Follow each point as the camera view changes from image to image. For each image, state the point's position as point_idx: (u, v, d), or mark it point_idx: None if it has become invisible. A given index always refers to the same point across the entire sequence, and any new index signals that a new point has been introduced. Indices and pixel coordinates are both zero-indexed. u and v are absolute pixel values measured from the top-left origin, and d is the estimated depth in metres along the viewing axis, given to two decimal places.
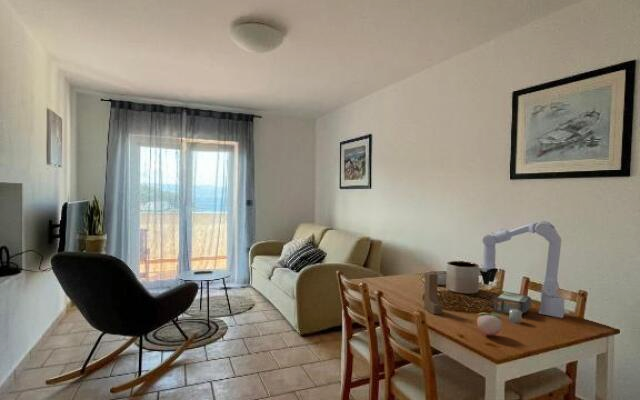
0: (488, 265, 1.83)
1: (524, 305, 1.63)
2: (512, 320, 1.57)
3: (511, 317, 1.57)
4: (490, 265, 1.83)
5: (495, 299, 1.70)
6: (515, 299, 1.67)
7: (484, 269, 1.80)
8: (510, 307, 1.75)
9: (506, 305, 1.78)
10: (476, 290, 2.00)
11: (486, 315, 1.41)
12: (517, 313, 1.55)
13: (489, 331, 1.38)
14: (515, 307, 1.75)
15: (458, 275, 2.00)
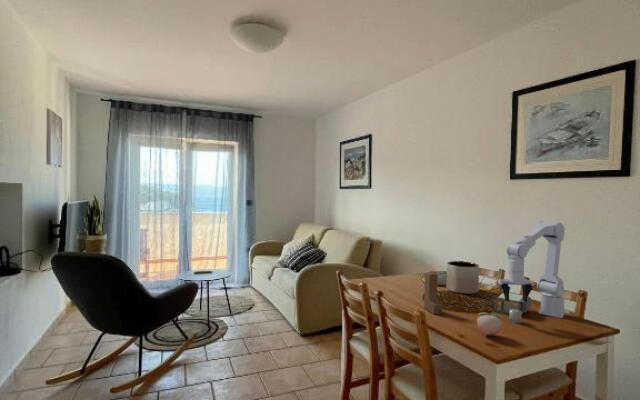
0: (510, 279, 1.57)
1: (524, 305, 1.63)
2: (512, 320, 1.57)
3: (511, 317, 1.57)
4: (512, 279, 1.56)
5: (495, 299, 1.70)
6: (515, 299, 1.67)
7: (499, 281, 1.58)
8: (510, 307, 1.75)
9: (506, 305, 1.78)
10: (476, 290, 2.00)
11: (486, 315, 1.41)
12: (517, 313, 1.55)
13: (489, 331, 1.38)
14: (515, 307, 1.75)
15: (458, 275, 2.00)
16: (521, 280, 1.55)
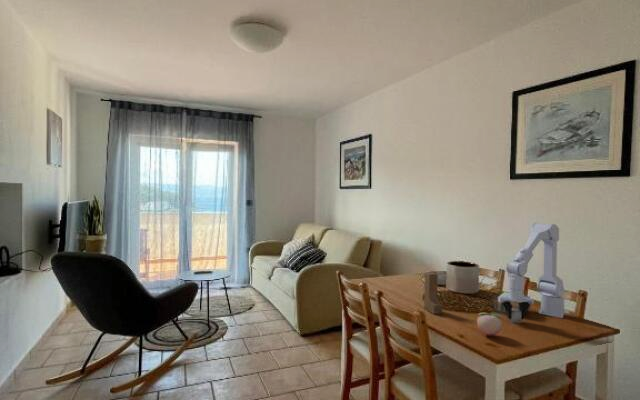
0: (510, 296, 1.57)
1: None
2: (512, 320, 1.57)
3: (511, 317, 1.57)
4: (511, 297, 1.56)
5: (495, 299, 1.70)
6: None
7: (499, 299, 1.58)
8: None
9: None
10: (476, 290, 2.00)
11: (486, 315, 1.41)
12: (517, 313, 1.55)
13: (489, 331, 1.38)
14: (515, 307, 1.75)
15: (458, 275, 2.00)
16: (521, 298, 1.55)
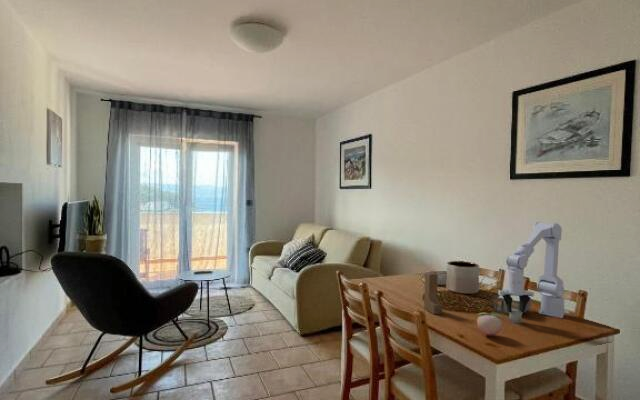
0: (510, 290, 1.57)
1: None
2: (512, 320, 1.57)
3: (511, 317, 1.57)
4: (511, 290, 1.56)
5: (495, 299, 1.70)
6: (515, 299, 1.67)
7: (499, 292, 1.58)
8: None
9: None
10: (476, 290, 2.00)
11: (486, 315, 1.41)
12: (517, 313, 1.55)
13: (489, 331, 1.38)
14: (515, 307, 1.75)
15: (458, 275, 2.00)
16: (521, 291, 1.55)
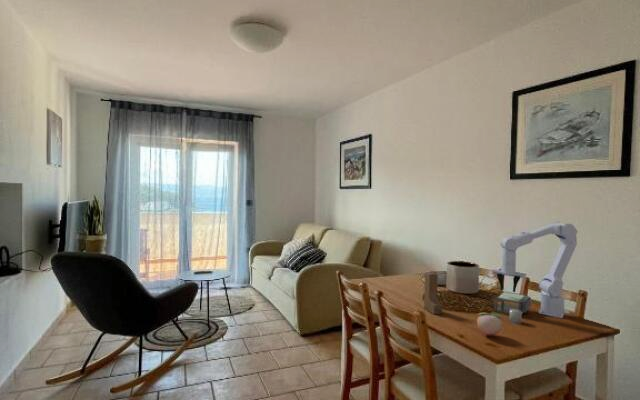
0: (502, 269, 1.72)
1: (524, 305, 1.63)
2: (512, 320, 1.57)
3: (511, 317, 1.57)
4: (502, 270, 1.71)
5: (495, 299, 1.70)
6: (515, 299, 1.67)
7: None
8: (510, 307, 1.75)
9: (506, 305, 1.78)
10: (476, 290, 2.00)
11: (486, 315, 1.41)
12: (517, 313, 1.55)
13: (489, 331, 1.38)
14: (515, 307, 1.75)
15: (458, 275, 2.00)
16: (510, 271, 1.68)
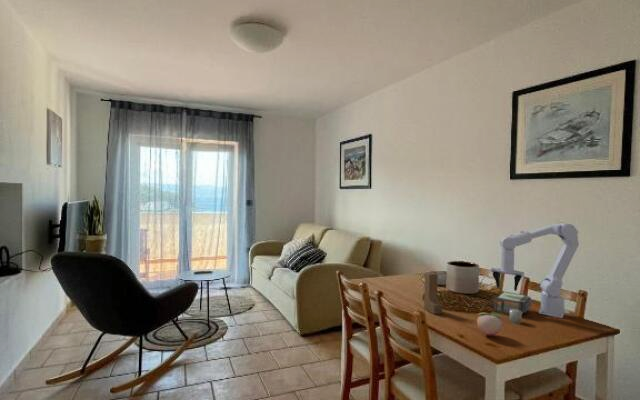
0: (500, 268, 1.75)
1: (524, 305, 1.63)
2: (512, 320, 1.57)
3: (511, 317, 1.57)
4: (501, 268, 1.74)
5: (495, 299, 1.70)
6: (515, 299, 1.67)
7: None
8: (510, 307, 1.75)
9: (506, 305, 1.78)
10: (476, 290, 2.00)
11: (486, 315, 1.41)
12: (517, 313, 1.55)
13: (489, 331, 1.38)
14: (515, 307, 1.75)
15: (458, 275, 2.00)
16: (508, 270, 1.71)
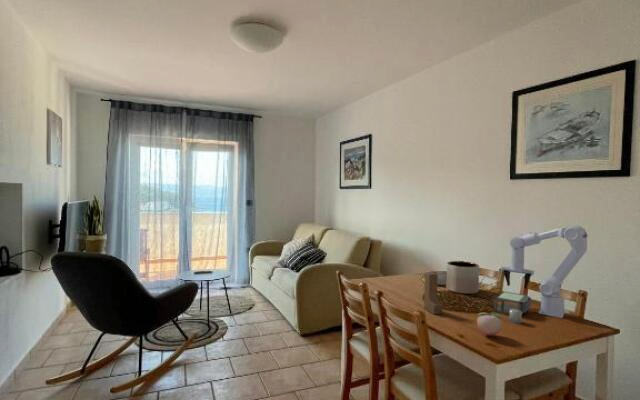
0: (511, 267, 1.81)
1: (524, 305, 1.63)
2: (512, 320, 1.57)
3: (511, 317, 1.57)
4: (511, 267, 1.80)
5: (495, 299, 1.70)
6: (515, 299, 1.67)
7: None
8: (510, 307, 1.75)
9: (506, 305, 1.78)
10: (476, 290, 2.00)
11: (486, 315, 1.41)
12: (517, 313, 1.55)
13: (489, 331, 1.38)
14: (515, 307, 1.75)
15: (458, 275, 2.00)
16: (518, 268, 1.77)
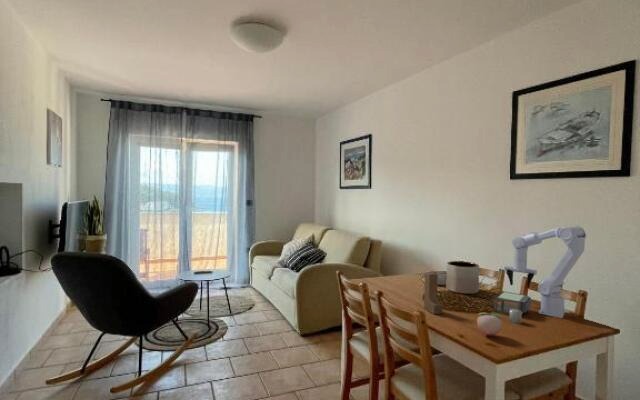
0: (514, 266, 1.83)
1: (524, 305, 1.63)
2: (512, 320, 1.57)
3: (511, 317, 1.57)
4: (514, 266, 1.82)
5: (495, 299, 1.70)
6: (515, 299, 1.67)
7: None
8: (510, 307, 1.75)
9: (506, 305, 1.78)
10: (476, 290, 2.00)
11: (486, 315, 1.41)
12: (517, 313, 1.55)
13: (489, 331, 1.38)
14: (515, 307, 1.75)
15: (458, 275, 2.00)
16: (521, 268, 1.79)
